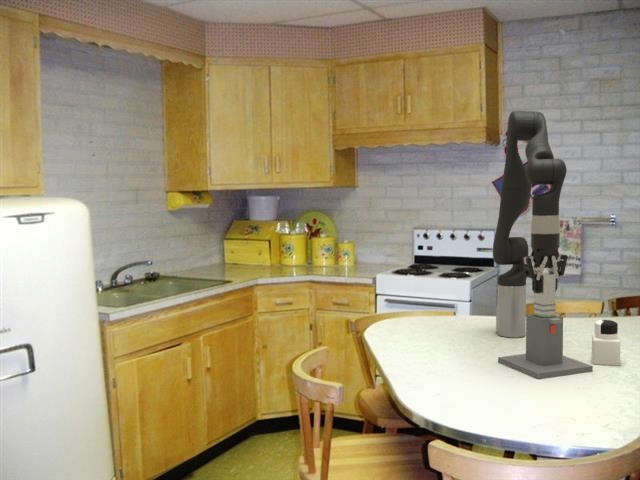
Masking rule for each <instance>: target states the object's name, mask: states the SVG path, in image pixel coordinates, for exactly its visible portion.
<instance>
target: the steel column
mask: <svg viewBox="0 0 640 480" xmlns="http://www.w3.org/2000/svg"><path fill="white" fill-rule="evenodd" d="M539 280H541V281H540V293H538V294H537V293H534V292H533V294H534V295H533V314H534V316H536V317H539V318H543V319H544V318H553V317H555V315H556V305H557V304H556V292H555V285H556V274H551V273H549V272H542V273H541V277H540V279H539Z"/></svg>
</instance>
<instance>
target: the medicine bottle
mask: <svg viewBox="0 0 640 480" xmlns="http://www.w3.org/2000/svg"><path fill="white" fill-rule="evenodd" d="M618 326H619V324H618V322H616V321H615V320H611V319H599V320H596V321H595V322H594V334H591V361H592V364H593V365H601V366H602V365H603V366H616V367H617V366H620V365H621V339H620V337H619V334H618V331H619V330H618Z"/></svg>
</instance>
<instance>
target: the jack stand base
mask: <svg viewBox="0 0 640 480" xmlns="http://www.w3.org/2000/svg"><path fill="white" fill-rule="evenodd" d="M563 349H564V317H563V316H560V315H556V314H555V317H553V318H544V319H543V318H539V317H536V316H534V313H533V314H526V335H525V353H522V354H516V355H515V354H513V355H508V356H507V355H506V356H499V357H497V363H499V364H500V365H503V366H506V367H508V368H509V369H513V370H516V371H517V372H521V373H522V374H525V375H527V376H529V377H532V378H535V379H536V380H541V379H542V380H543V379H547V378H548V379H549V378H554V377H555V378H556V377H563V376H569V375H576V374H582V373H583V374H584V373H585V374H586V373H591V372H593V365H591V364H589V363H585V362H582V361H579V360H576V359H574V358H571V357H569V356H565V355H563V353H564V352H563V351H564V350H563Z"/></svg>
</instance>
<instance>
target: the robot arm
mask: <svg viewBox="0 0 640 480" xmlns="http://www.w3.org/2000/svg"><path fill="white" fill-rule="evenodd" d="M506 128H507V129H506V144H505V145H506V146H505V147H506V148H505V149H506V150H505V159H504V160H505V161H504V169H503V177H502V182H501V191H500V200H499V201H500V204H499V211H498V219H497V223H496V224H497V225H496V229H495V235H494V237H493V238H494V239H493V245H492V258H493V261H494V263H495V264H496V265H498V266H507V265H508V266H509V265H512V266H511V268H510V269H509V270H508V271H506V272H504V273H502V274H499V275H498V277H497V304H496V305H495V311H496V312H495V314H496V315H495V318H496V319H495V329H496V330H495V333H496V334H497V336H501V337H504V338H505V337H506V338H522V337H526V315H527V278H528V279H530V280H531V282H532V283H531V284H532V285H531V290H532V291H533V294H534V293H537V294H538V293H540V281H541V280H539V279H540V277H541V273H544V272H545V271H544V270H545V269H546V271H548V272H547V273H551V274H556V285H555V293H556V292H557V290H558V285H559V283H558V279H559V278H560V277H563V276H564V275H565V271H566V266H567V262H568V257H569V256H568V255H567V254H562V253H560V252H559V249H560V245H561V244H560V242H561V240H560V239H561V238H560V236H561V235H560V234H561V233H560V231H561V229H560V228H561V225H560V224H561V222H560V198H561V197H560V196H561V192H562V188H563V185H564V182H565V178H566V176H567V171H568V170H567V165H566V162H564V161H563V160H562V159H561V158H554V153H553V151H552V149H551V146H550V144H549V134H548V126H547V121H546V118H545V115H544V113H542V112H540V111H535V110H533V111H531V110H530V111H529V110H513V111H511V112H510V114H509V117H508V119H507V127H506ZM520 141H521V142H527V143H526V146H525V148H524V149H525V150H524V151H525V152H524V154H525V157H526V159H527V164H526V166H525V164H524V162H523V160H522V158H521V155H520V151H519V149H518V148H519V147H518V144H519V143H518V142H520ZM532 185H533V186H534V185H535V186H538V185H539V186H541V185H542V186H544V185H545V186H546V185H551V187H550V188H549V190H547V191H545V192H541V193H537V194H534V195H533V196H532V201H531V203H532V204H531V206H532V207H531V209H532V211H531V214H532V216H531V222H530V223H531V225H530V229H531V230H530V247H531V254H530V255H529V244H528V241H527V239H526V238H525V237H524V236H522V237H521V236H510V234H511V231H512V228H513V226H514V225H515V222H517V220H518V218H519V217H520V216H521V215H522V213H524V211H525V210H526V208H527V207H528V205H529V203H530V200H531V192H532Z"/></svg>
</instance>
